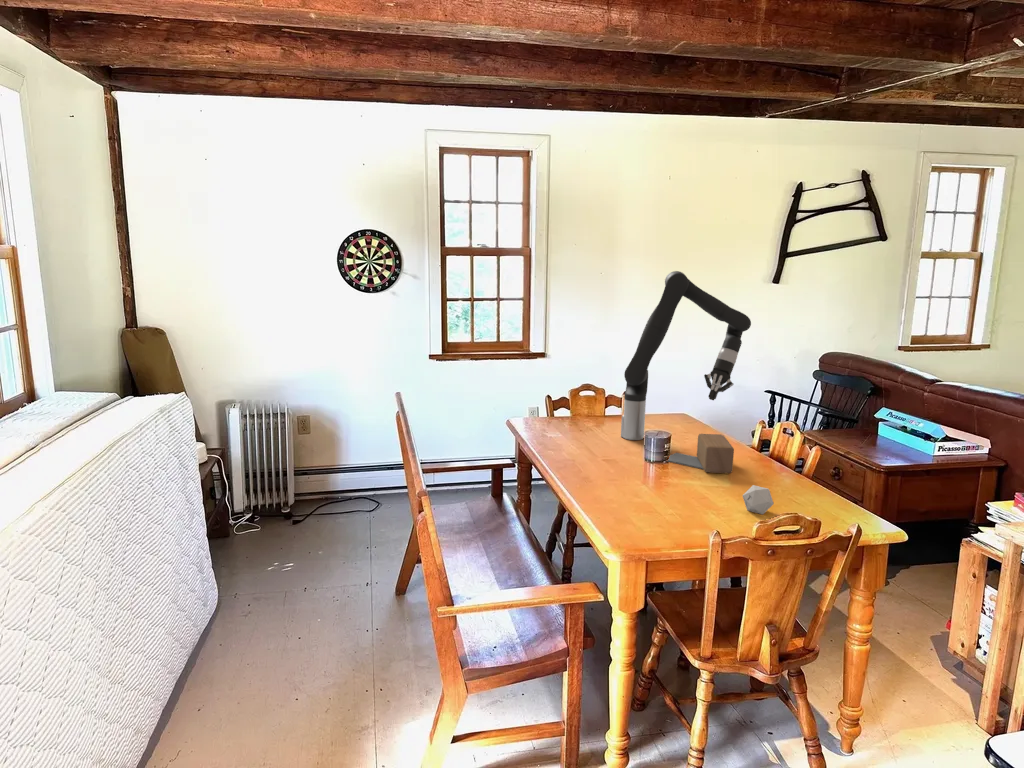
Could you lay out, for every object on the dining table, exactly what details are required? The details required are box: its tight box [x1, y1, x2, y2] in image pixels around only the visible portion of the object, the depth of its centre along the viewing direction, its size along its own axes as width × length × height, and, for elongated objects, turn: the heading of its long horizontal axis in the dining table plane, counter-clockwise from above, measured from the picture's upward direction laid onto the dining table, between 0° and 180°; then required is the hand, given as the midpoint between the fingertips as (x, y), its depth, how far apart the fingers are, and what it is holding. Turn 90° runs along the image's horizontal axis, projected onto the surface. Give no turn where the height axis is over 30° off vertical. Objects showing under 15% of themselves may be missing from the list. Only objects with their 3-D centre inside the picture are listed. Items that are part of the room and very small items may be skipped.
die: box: [741, 484, 774, 515], centre depth 212 cm, size 8×9×10 cm
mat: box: [667, 452, 705, 471], centre depth 264 cm, size 20×12×1 cm, turn 49°
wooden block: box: [696, 433, 735, 474], centre depth 257 cm, size 10×10×20 cm
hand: (711, 399), depth 283 cm, fingers closed
